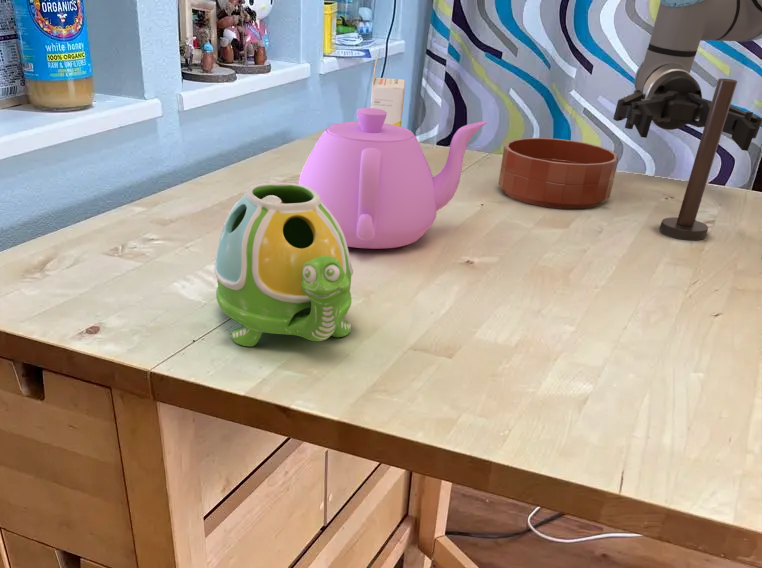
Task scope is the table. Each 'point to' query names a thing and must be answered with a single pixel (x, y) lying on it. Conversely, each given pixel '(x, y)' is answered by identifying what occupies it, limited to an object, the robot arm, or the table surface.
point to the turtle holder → (283, 266)
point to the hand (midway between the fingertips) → (697, 133)
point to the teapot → (381, 179)
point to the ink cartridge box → (388, 97)
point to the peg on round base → (701, 168)
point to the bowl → (557, 172)
